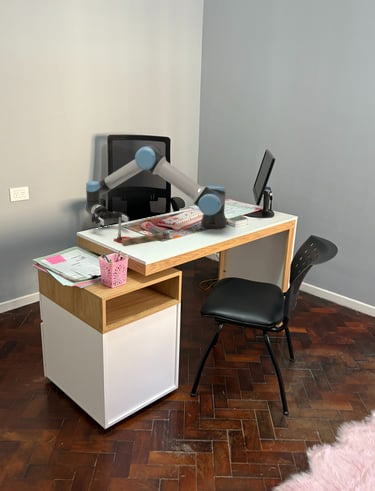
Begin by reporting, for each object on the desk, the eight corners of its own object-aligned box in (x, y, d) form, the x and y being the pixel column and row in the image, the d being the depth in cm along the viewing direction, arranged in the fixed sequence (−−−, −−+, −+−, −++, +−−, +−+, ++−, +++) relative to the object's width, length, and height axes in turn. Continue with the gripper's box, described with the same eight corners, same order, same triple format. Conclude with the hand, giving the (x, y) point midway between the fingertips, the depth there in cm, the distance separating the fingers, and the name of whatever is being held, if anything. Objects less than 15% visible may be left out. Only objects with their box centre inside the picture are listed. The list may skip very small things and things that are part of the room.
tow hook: (124, 237, 231) (112, 241, 223) (125, 213, 227) (112, 216, 220) (136, 240, 226) (124, 244, 219) (137, 216, 223) (125, 219, 215)
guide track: (154, 230, 243) (154, 225, 242) (169, 238, 230) (169, 233, 229) (110, 237, 229) (110, 231, 228) (124, 245, 216) (124, 240, 215)
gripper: (120, 216, 255) (136, 225, 238) (79, 221, 242) (93, 231, 225) (120, 203, 253) (136, 211, 236) (78, 208, 240) (92, 217, 223)
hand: (115, 221), depth 231 cm, fingers open, 13 cm apart
